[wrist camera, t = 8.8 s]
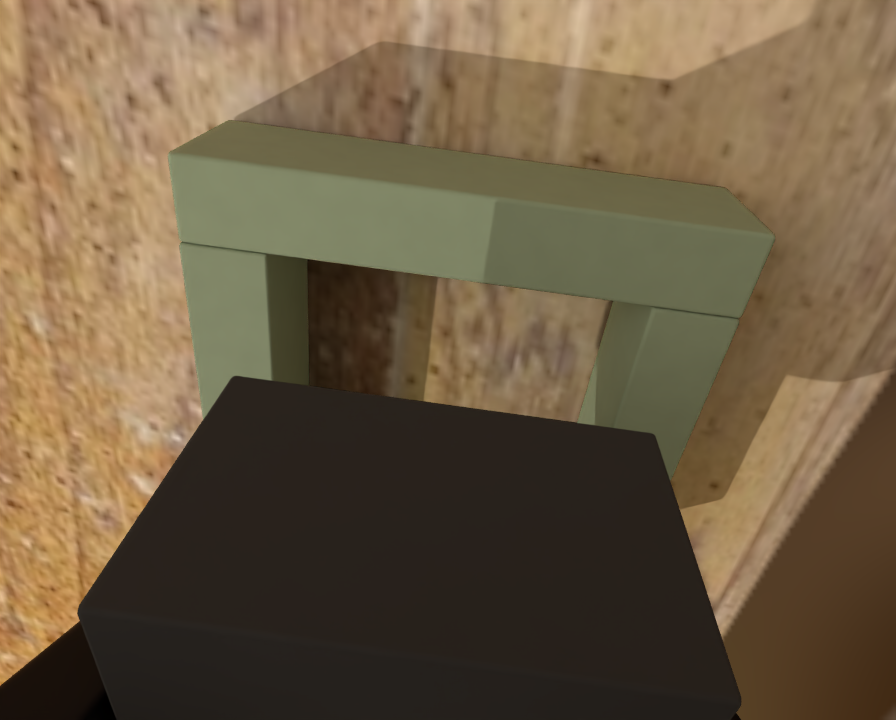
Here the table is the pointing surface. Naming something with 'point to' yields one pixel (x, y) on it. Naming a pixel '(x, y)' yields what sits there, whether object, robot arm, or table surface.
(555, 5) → the table surface
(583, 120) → the table surface
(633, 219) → the green square frame
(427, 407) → the black block
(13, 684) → the robot arm
